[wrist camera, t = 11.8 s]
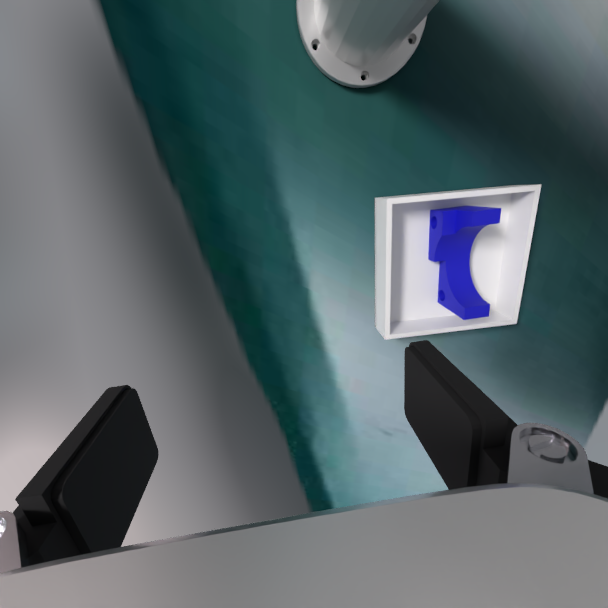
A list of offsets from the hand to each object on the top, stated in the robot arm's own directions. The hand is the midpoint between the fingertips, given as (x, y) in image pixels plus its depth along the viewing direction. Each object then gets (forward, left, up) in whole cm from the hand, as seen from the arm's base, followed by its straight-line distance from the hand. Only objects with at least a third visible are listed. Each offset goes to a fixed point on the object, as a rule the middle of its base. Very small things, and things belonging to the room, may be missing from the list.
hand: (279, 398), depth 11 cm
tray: (+3, +21, -28) cm, 35 cm away
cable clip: (+3, +21, -28) cm, 35 cm away
